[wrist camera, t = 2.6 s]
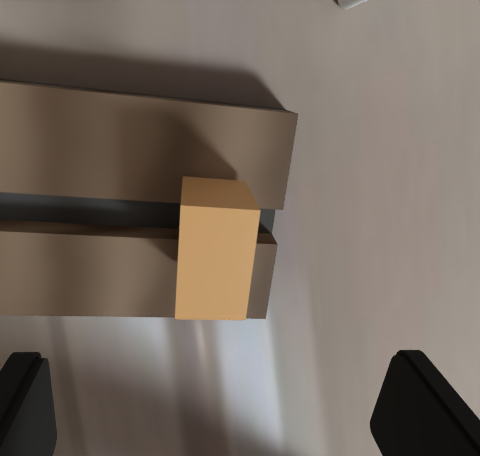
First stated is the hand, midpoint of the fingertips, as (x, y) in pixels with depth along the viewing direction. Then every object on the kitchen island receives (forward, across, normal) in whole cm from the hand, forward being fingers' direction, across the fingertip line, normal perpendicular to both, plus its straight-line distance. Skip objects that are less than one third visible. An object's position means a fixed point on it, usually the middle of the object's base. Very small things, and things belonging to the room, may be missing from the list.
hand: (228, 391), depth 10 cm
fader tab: (+15, 0, +1) cm, 15 cm away
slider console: (+17, +8, +1) cm, 18 cm away
